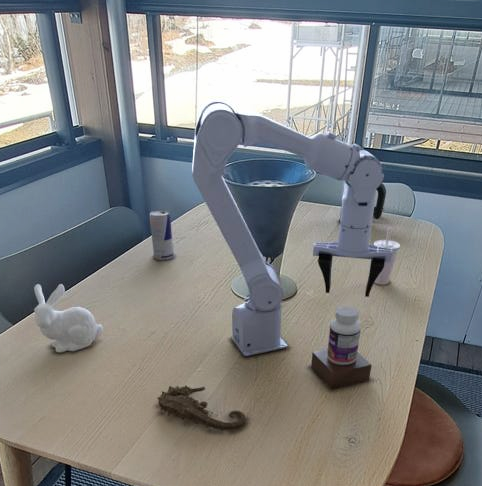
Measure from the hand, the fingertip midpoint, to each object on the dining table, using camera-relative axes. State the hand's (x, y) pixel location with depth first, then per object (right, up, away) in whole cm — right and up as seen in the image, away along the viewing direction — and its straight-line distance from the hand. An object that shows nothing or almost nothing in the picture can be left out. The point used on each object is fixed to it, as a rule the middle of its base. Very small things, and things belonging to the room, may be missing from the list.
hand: (347, 292), depth 104 cm
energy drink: (-43, +18, +42) cm, 63 cm away
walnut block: (-2, -16, -4) cm, 17 cm away
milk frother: (+16, +38, +69) cm, 80 cm away
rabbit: (-56, -10, +3) cm, 57 cm away
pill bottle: (-2, -14, -6) cm, 15 cm away
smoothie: (+14, +9, +30) cm, 34 cm away
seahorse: (-28, -23, -14) cm, 39 cm away
